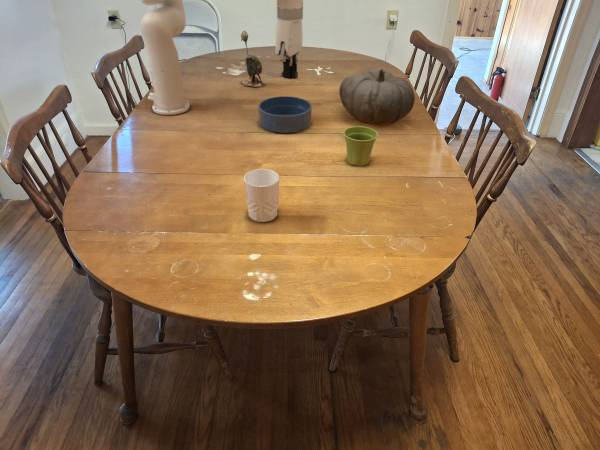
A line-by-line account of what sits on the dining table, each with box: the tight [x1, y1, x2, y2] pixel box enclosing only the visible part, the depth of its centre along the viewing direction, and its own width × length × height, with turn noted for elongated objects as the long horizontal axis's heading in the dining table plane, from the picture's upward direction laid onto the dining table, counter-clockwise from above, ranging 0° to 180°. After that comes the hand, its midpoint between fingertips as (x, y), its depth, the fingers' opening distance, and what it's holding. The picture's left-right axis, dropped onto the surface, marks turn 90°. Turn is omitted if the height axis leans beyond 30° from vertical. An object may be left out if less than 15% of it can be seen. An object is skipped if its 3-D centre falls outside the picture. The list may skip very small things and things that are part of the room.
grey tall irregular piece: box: [240, 30, 266, 88], centre depth 175 cm, size 8×11×20 cm
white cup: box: [243, 168, 280, 223], centre depth 106 cm, size 8×8×10 cm
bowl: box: [257, 95, 313, 134], centre depth 150 cm, size 17×17×6 cm
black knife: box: [263, 71, 299, 80], centre depth 144 cm, size 11×2×2 cm, turn 66°
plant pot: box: [342, 125, 379, 167], centre depth 128 cm, size 9×9×9 cm
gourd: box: [338, 68, 416, 126], centre depth 152 cm, size 25×25×17 cm
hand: (290, 76), depth 144 cm, fingers closed on black knife, 1 cm apart
